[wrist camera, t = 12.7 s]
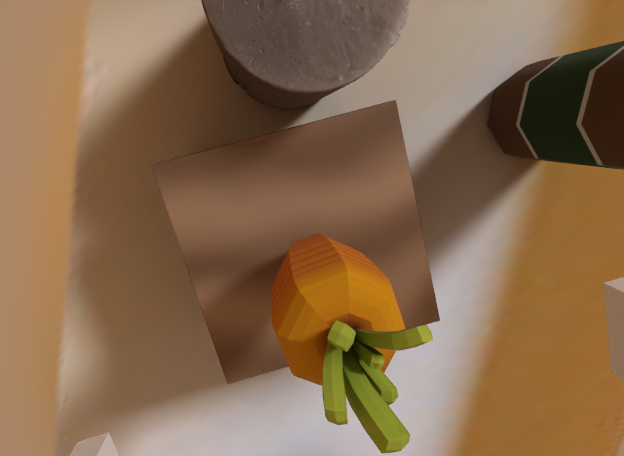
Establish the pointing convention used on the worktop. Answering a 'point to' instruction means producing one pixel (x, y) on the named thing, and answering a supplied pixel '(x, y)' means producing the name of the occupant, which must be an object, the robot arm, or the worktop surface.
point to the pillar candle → (302, 44)
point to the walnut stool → (294, 222)
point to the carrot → (343, 332)
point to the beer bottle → (565, 109)
